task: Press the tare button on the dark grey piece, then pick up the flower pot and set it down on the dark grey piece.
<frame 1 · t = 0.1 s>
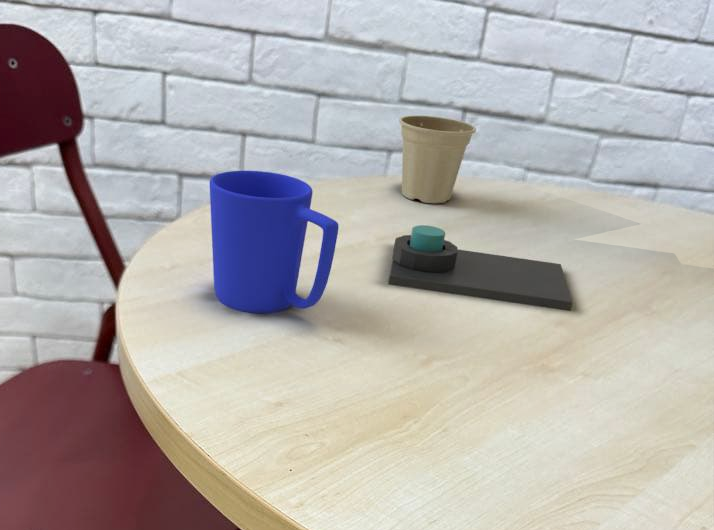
flower pot: (424, 198, 108), on the table
tare button: (427, 239, 82), point 4 cm above the table, slide at 0.1 cm
dark grey piece: (476, 283, 83), on the table
mug: (269, 314, 72), on the table
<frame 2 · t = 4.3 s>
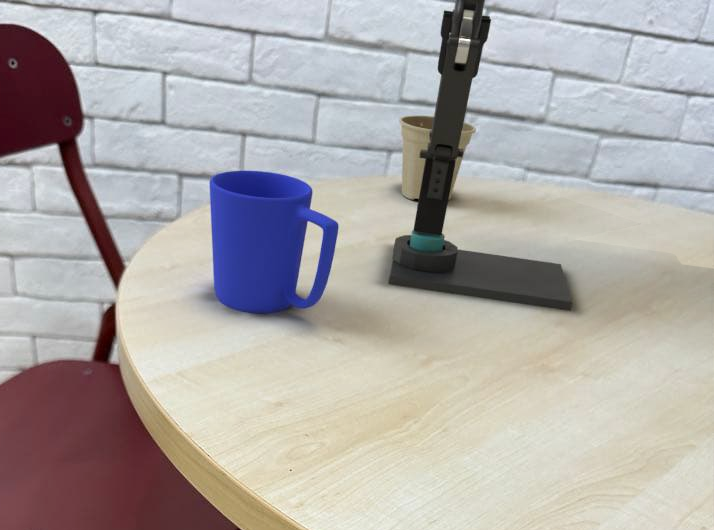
hand: (427, 230, 81), 4 cm above the table, tool pointing down, fingers closed
tare button: (426, 242, 82), point 3 cm above the table, slide at -0.2 cm, touching gripper
everything else where it was.
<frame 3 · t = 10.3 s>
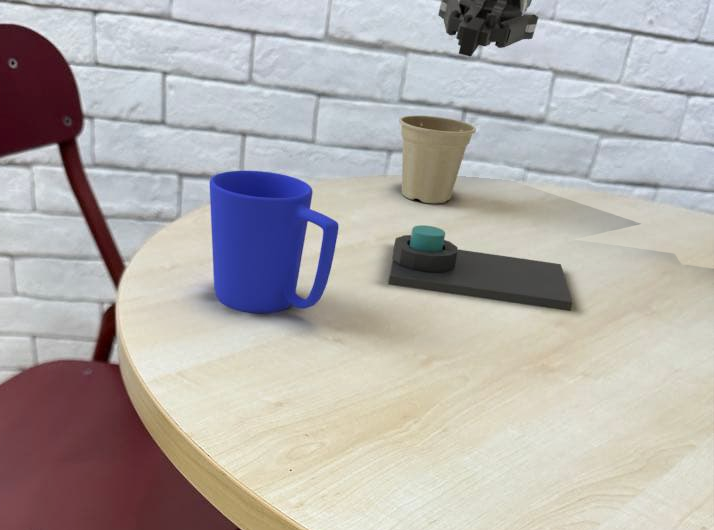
hand: (467, 42, 97), 17 cm above the table, tool horizontal, fingers closed
tare button: (427, 239, 82), point 4 cm above the table, slide at 0.1 cm
everything else where it was.
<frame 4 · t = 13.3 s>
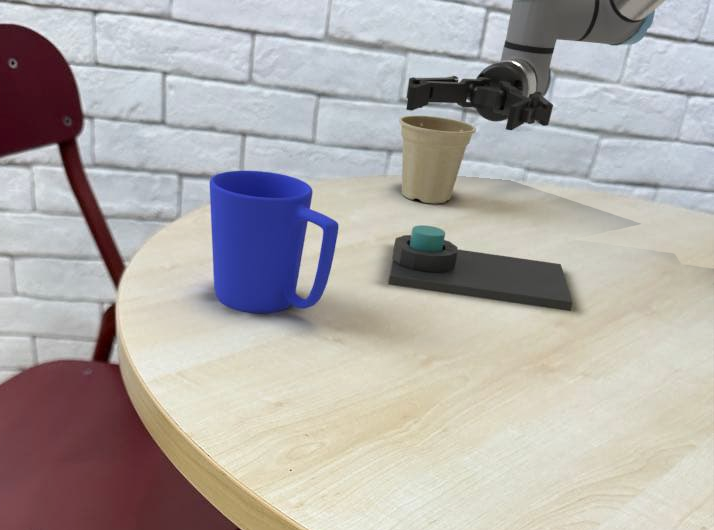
hand: (459, 108, 109), 9 cm above the table, tool horizontal, fingers open, 13 cm apart
nothing on the table moved.
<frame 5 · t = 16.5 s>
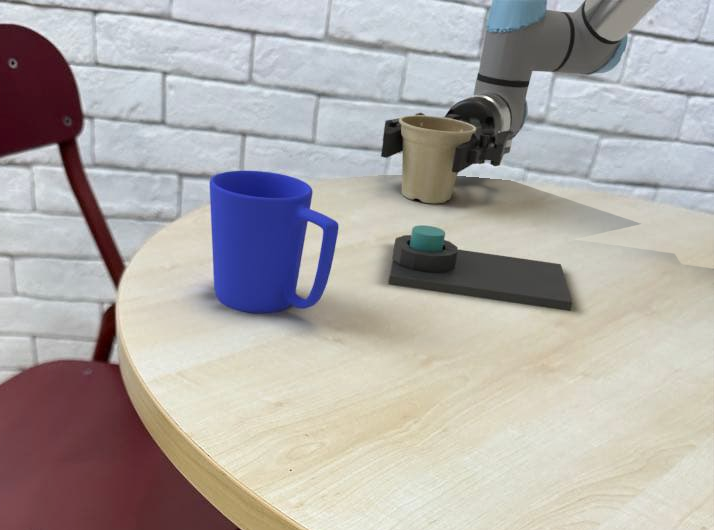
hand: (420, 152, 101), 6 cm above the table, tool horizontal, fingers closed on flower pot, 8 cm apart
flower pot: (424, 198, 108), on the table, touching gripper
everything else where it was.
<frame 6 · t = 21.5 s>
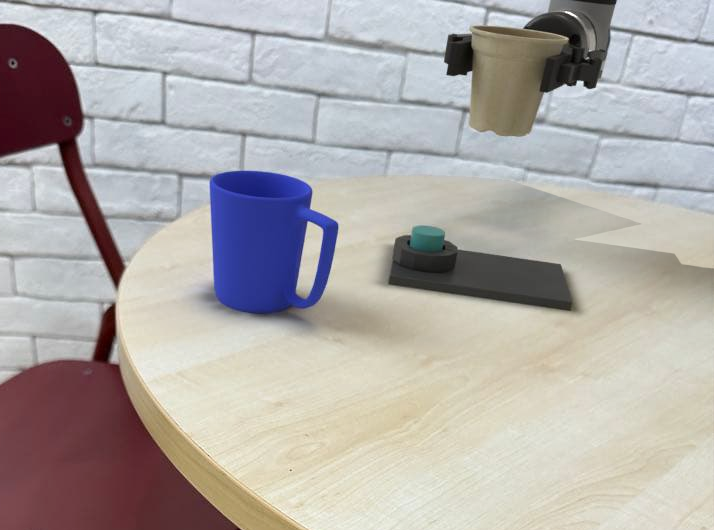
hand: (499, 67, 78), 18 cm above the table, tool horizontal, fingers closed on flower pot, 8 cm apart
flower pot: (497, 132, 86), point 12 cm above the table, touching gripper
everything else where it was.
when the fingers open (7 cm above the table, at t = 26.5 s): flower pot stays where it is, resting on dark grey piece.
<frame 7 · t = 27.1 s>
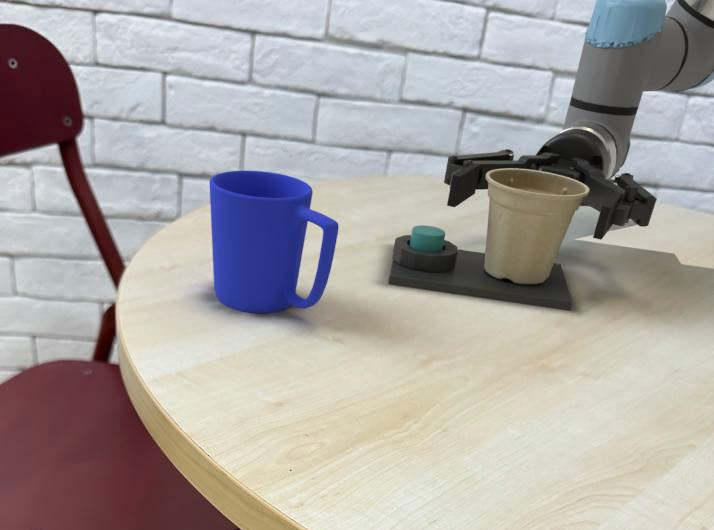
hand: (525, 206, 76), 8 cm above the table, tool horizontal, fingers open, 13 cm apart
flower pot: (513, 276, 83), point 1 cm above the table, touching dark grey piece
everything else where it was.
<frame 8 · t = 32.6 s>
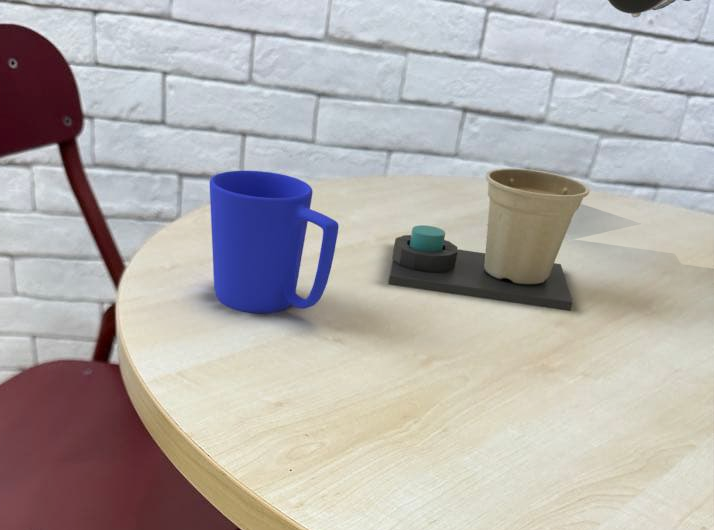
nothing on the table moved.
at the end: tare button pushed in 0.8 cm at the most during the clip, back to where it started at the end; flower pot inside the target area on the dark grey piece (0.2 cm from its centre), point 1.2 cm above the dark grey piece's base; flower pot touching dark grey piece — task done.
